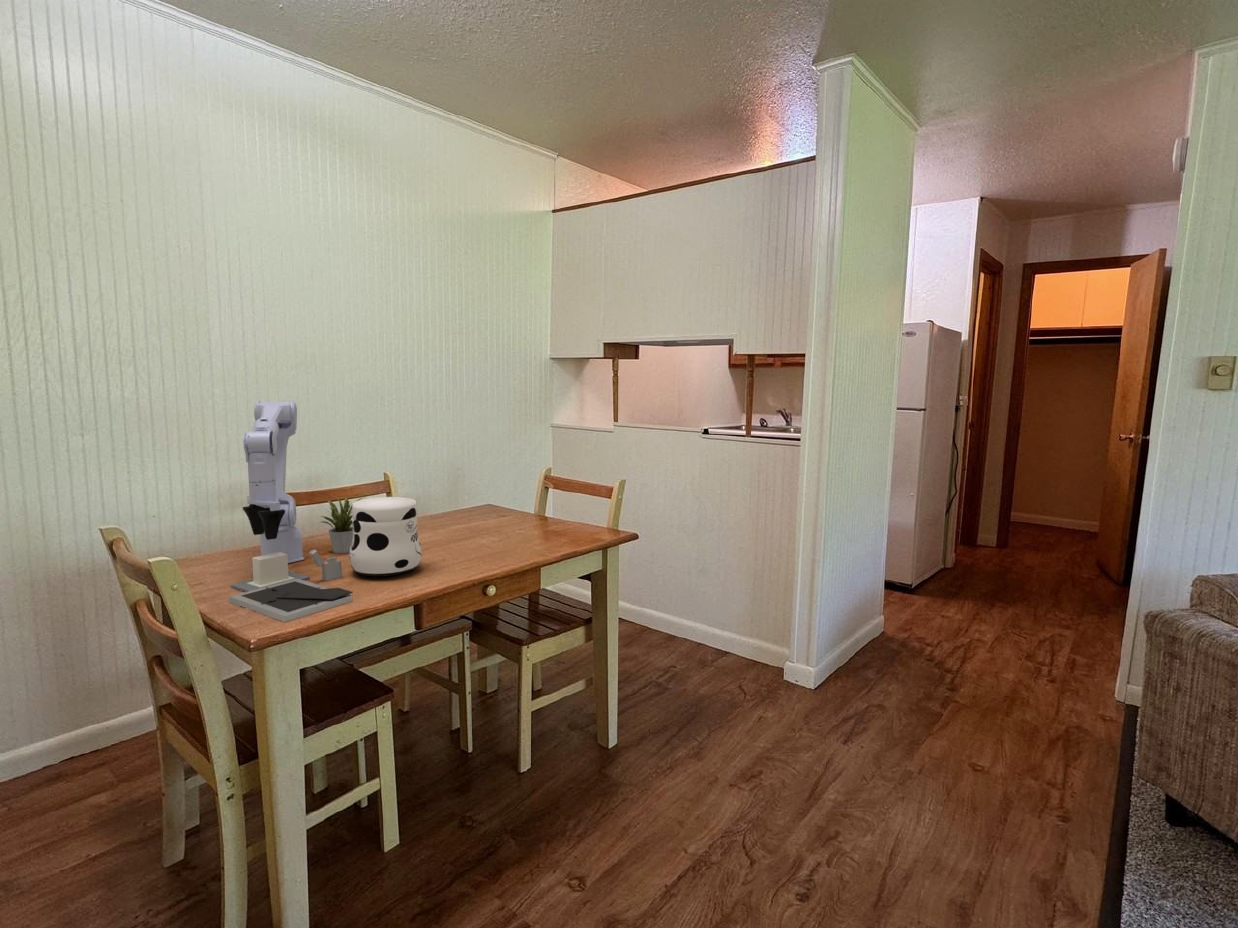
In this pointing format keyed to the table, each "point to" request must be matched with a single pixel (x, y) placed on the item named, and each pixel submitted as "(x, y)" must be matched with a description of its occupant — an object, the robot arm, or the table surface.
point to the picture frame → (292, 599)
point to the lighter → (327, 566)
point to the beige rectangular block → (270, 568)
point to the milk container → (384, 536)
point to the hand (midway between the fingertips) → (265, 536)
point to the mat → (253, 586)
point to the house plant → (340, 527)
